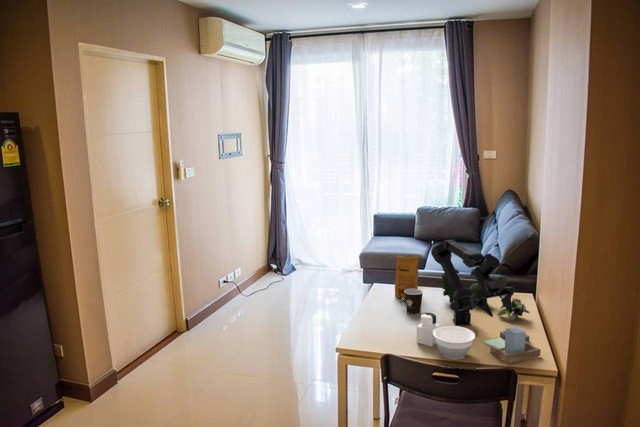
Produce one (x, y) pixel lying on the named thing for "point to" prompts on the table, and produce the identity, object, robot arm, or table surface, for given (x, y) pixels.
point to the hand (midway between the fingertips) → (501, 314)
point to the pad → (496, 343)
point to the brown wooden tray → (513, 358)
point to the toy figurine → (449, 289)
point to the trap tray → (502, 335)
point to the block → (514, 340)
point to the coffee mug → (412, 300)
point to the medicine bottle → (427, 329)
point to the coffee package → (406, 275)
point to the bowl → (453, 341)
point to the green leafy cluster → (513, 309)
